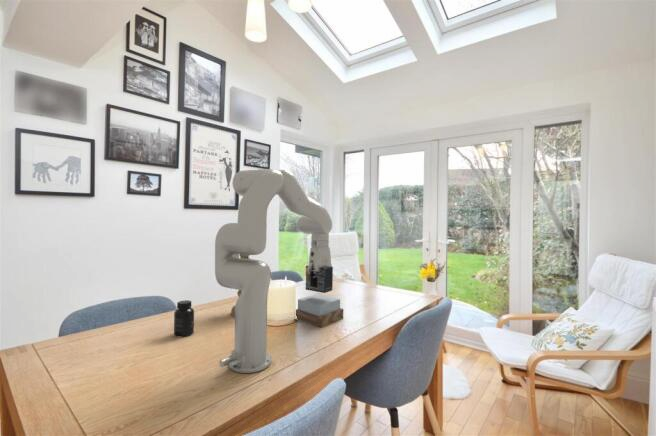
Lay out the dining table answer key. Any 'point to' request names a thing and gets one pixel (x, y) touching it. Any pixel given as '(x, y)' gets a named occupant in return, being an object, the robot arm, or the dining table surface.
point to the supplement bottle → (184, 319)
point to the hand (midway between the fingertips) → (319, 284)
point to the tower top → (319, 304)
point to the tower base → (318, 320)
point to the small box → (321, 280)
